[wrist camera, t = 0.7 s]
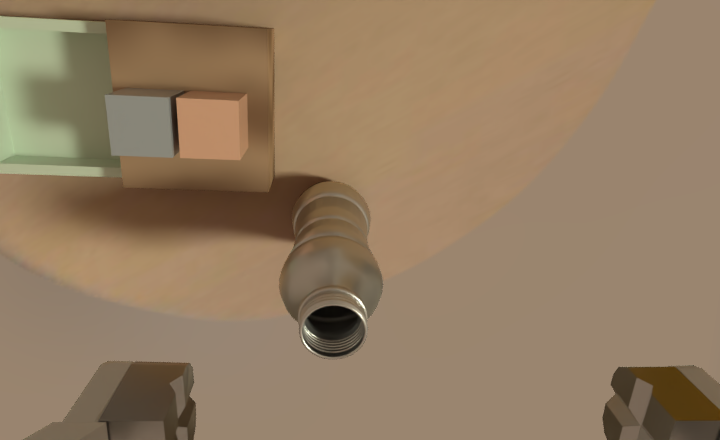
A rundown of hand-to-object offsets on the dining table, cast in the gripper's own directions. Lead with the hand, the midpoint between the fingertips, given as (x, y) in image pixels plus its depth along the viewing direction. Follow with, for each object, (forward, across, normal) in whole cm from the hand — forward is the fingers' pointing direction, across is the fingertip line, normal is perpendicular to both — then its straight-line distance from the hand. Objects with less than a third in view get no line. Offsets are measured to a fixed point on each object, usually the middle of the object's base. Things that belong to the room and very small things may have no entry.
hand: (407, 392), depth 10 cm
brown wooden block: (+36, +11, 0) cm, 38 cm away
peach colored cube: (+31, +9, 0) cm, 32 cm away
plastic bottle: (+36, +1, +9) cm, 37 cm away
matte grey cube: (+31, +14, 0) cm, 34 cm away
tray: (+36, +22, 0) cm, 43 cm away
